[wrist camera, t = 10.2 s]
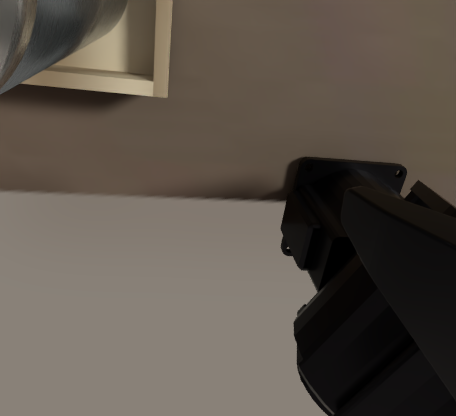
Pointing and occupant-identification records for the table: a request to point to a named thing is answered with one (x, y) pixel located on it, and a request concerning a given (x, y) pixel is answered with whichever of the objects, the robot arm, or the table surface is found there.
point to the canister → (49, 33)
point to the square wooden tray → (121, 55)
